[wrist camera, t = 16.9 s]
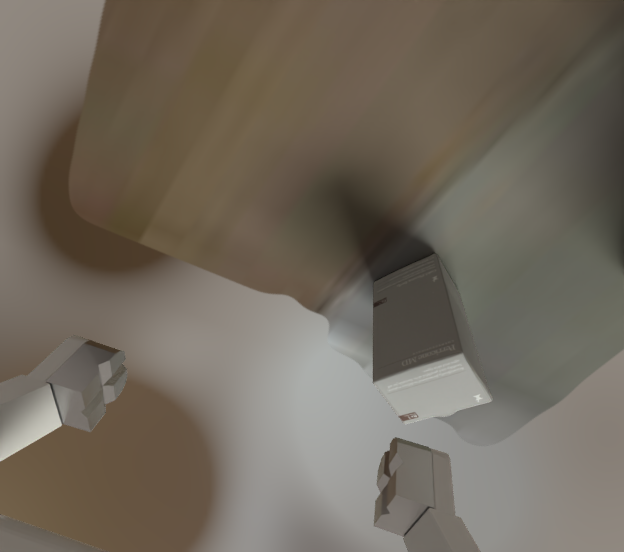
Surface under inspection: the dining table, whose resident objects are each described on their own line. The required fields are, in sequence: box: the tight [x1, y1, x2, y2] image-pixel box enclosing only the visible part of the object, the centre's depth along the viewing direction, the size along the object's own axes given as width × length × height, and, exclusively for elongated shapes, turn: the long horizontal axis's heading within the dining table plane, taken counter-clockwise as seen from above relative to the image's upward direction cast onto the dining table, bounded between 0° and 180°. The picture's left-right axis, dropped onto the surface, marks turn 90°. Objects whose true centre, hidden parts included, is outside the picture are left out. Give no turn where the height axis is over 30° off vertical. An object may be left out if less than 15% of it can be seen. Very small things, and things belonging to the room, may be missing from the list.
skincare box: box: [373, 253, 493, 424], centre depth 39 cm, size 8×7×16 cm
